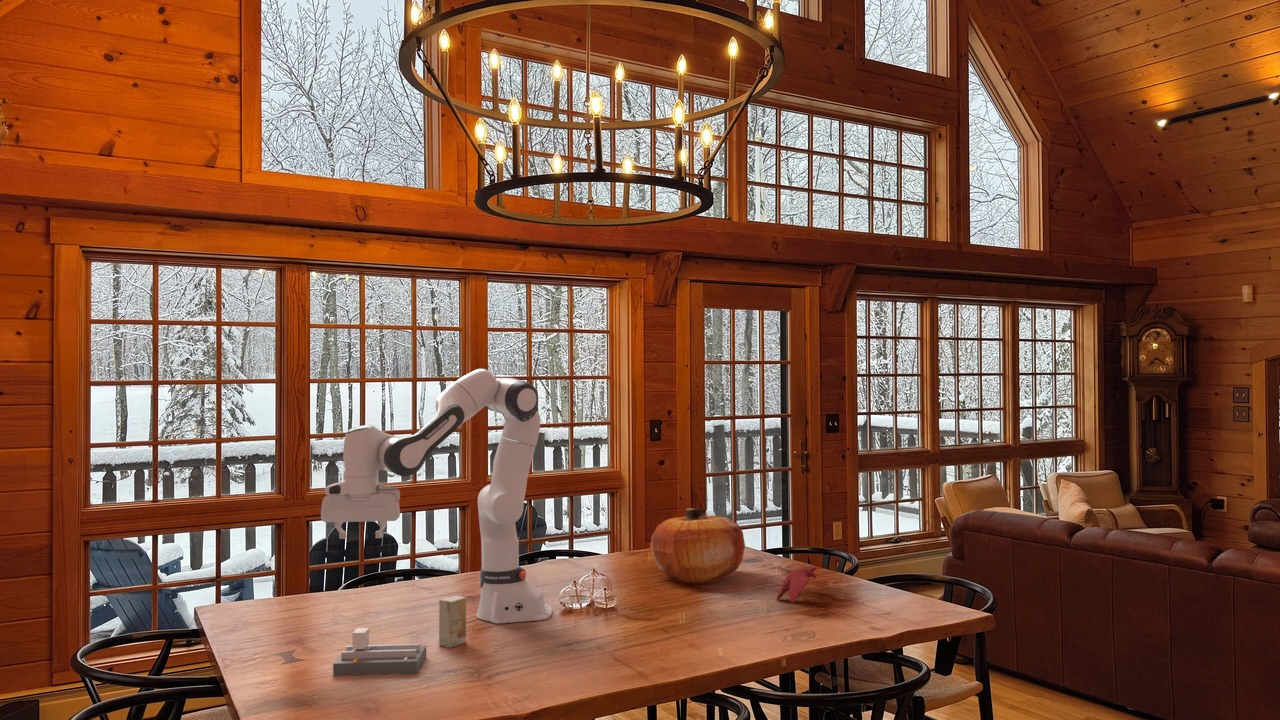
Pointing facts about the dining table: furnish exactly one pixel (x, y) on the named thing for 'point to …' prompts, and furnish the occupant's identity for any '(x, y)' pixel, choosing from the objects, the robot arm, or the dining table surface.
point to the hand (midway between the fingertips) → (360, 538)
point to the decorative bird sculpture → (796, 583)
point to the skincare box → (452, 621)
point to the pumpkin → (698, 547)
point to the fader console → (380, 660)
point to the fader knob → (361, 639)
